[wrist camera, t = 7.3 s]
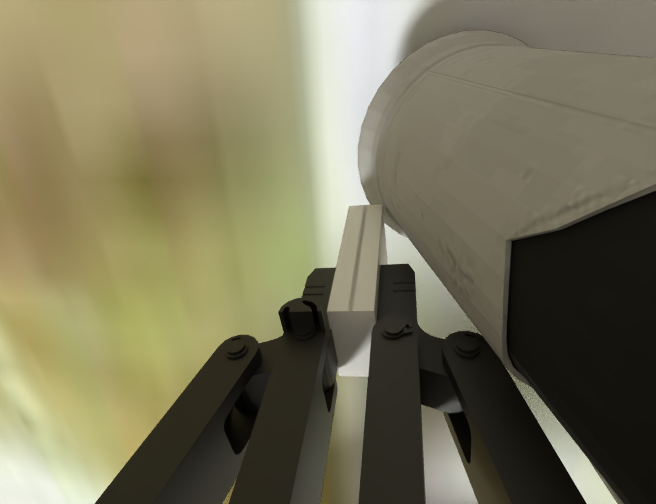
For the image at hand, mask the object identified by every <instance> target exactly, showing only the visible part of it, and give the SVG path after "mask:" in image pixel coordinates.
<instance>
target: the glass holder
mask: <svg viewBox="0 0 656 504" xmlns="http://www.w3.org/2000/svg"><path fill="white" fill-rule="evenodd" d="M358 168H359V174H360V180H361V184H362V187H363V190H364V192H365V195H366V198H367V200H368V201H369V203H370V205H375V204H382V206H383V217H384V222H385V223H386V224H387V225H388V226H389V227H391V228H392V229H393V230H395V231H396V232H398V233H399V234H401V235H403V236H405V237H407V238H409V240H410V241H411V242H412V243H413V245H414V246H415V247H416V249H417V250H418V251H419V253H420V254H421V255H422V257H423V258H424V259H425V261H426V262H427V263H428V265H429V266H430V267H431V269H432V270H433V271H434V273H435V274H436V275H437V276H438V278H439V279H440V280H441V282H442V283H443V284H444V286H445V287H446V288H447V290H448V291H449V292H450V294H451V295H452V296H453V298H454V299H455V300H456V302H457V303H458V304H459V306H460V307H461V308H462V309H463V311H464V312H465V313H466V315H467V316H468V317H469V319H470V320H471V321H472V323H473V324H474V325H475V327H476V328H477V329H478V331H479V332H480V333H481V335H482V336H483V337H484V339H485V340H486V341H487V342H488V344H489V345H490V346H491V348H492V349H493V350H494V352H495V353H496V354H497V356H498V357H499V358H500V360H501V361H502V362H503V364H504V365H505V366H506V368H507V369H508V370H509V371H510V372H511V373H512V374H513V375H514V376H515V377H516V378H517V379H518V380H520V381H522V382H524V383H525V384H527V385H529V386H531V387H532V388H533V389H534V390H535V392H536V393H537V394H538V395H539V397H540V398H541V399H542V400H543V402H544V403H545V404H546V406H547V407H548V408H549V409H550V411H551V412H552V413H553V414H554V416H555V417H556V418H557V420H558V421H559V422H560V423H561V425H562V426H563V427H564V428H565V430H566V431H567V432H568V433H569V435H570V436H571V437H572V439H573V440H574V441H575V442H576V444H577V445H578V446H579V447H580V449H581V450H582V451H583V453H584V454H585V455H586V456H587V458H588V459H589V460H590V462H591V464H592V466H593V467H594V469H595V470H596V472H597V473H598V475H599V476H600V478H601V479H602V481H603V482H604V484H605V485H606V487H607V488H608V490H609V491H610V493H611V494H612V496H613V497H614V499H615V500H616V502H617V503H618V504H656V58H649V57H637V56H625V55H612V54H600V53H588V52H575V51H563V50H551V49H539V48H530V47H529V46H527V45H526V44H525V43H523V42H522V41H520V40H518V39H515V38H513V37H511V36H508V35H506V34H503V33H498V32H492V31H487V30H472V31H462V32H458V33H453V34H449V35H445V36H443V37H441V38H438V39H436V40H434V41H431V42H429V43H427V44H425V45H424V46H422V47H421V48H419V49H418V50H416V51H415V52H413V53H412V54H410V55H409V56H407V57H406V58H405V59H404V60H403V61H402V62H401V63H400V64H399V65H398V66H397V67H396V68H395V69H394V70H393V71H392V72H391V73H390V74H389V76H388V77H387V78H386V79H385V81H384V82H383V83H382V85H381V86H380V87H379V89H378V90H377V92H376V94H375V96H374V98H373V100H372V102H371V103H370V105H369V107H368V110H367V113H366V116H365V118H364V121H363V124H362V127H361V133H360V138H359V144H358Z"/></svg>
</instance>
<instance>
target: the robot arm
mask: <svg viewBox="0 0 656 504" xmlns="http://www.w3.org/2000/svg"><path fill="white" fill-rule="evenodd" d="M278 313H279V316H280V320H281V324H282V327H283V331H284V333H283V336H281V337H279V338H277V339H274V340H271V341H267V342H263V343H259V344H258V341H257V340H256V339H255V338H254V337H252V336H249V335H238V336H234V337H231V338H229V339H227V340H225V341H224V342H223V343H222V344H221V345H220V346H219V347H218V348H217V349H216V351H215V352H214V353H213V354H212V356H211V357H210V358H209V359H208V361H207V362H206V363H205V365H204V366H203V367H202V368H201V370H200V371H199V372H198V373H197V375H196V376H195V377H194V378H193V380H192V381H191V382H190V384H189V385H188V386H187V387H186V389H185V390H184V391H183V392H182V394H181V395H180V396H179V397H178V399H177V400H176V401H175V403H174V404H173V405H172V406H171V408H170V409H169V410H168V411H167V413H166V414H165V415H164V416H163V418H162V419H161V420H160V422H159V423H158V424H157V425H156V427H155V428H154V429H153V430H152V432H151V433H150V434H149V435H148V437H147V438H146V439H145V441H144V442H143V443H142V444H141V446H140V447H139V448H138V449H137V451H136V452H135V453H134V454H133V456H132V457H131V458H130V460H129V461H128V462H127V463H126V465H125V466H124V467H123V468H122V470H121V471H120V472H119V473H118V475H117V476H116V477H115V479H114V480H113V481H112V482H111V484H110V485H109V486H108V487H107V489H106V490H105V491H104V492H103V494H102V495H101V496H100V498H99V499H98V500H97V501H96V503H95V504H222V503H223V502H224V500H225V498H226V496H227V494H228V493H229V491H230V489H231V487H232V486H233V484H234V482H235V480H236V479H237V480H236V483H235V486H234V489H233V492H232V496H231V499H230V502H229V504H320V501H321V494H322V488H323V481H324V475H325V468H326V462H327V455H328V449H329V442H330V436H331V429H332V423H333V416H334V410H335V403H336V397H337V382H336V372H337V367H338V372H339V376H368V386H367V400H366V413H365V426H364V439H363V453H362V466H361V479H360V493H359V504H426V501H425V480H424V459H423V438H422V417H421V404H422V405H425V406H428V407H431V408H435V409H438V410H441V411H443V412H444V416H445V419H446V421H447V424H448V427H449V429H450V432H451V434H452V437H453V439H454V442H455V445H456V447H457V450H458V452H459V455H460V457H461V460H462V462H463V465H464V468H465V470H466V473H467V475H468V478H469V480H470V483H471V486H472V488H473V491H474V493H475V496H476V498H477V501H478V503H479V504H586V502H585V500H584V499H583V497H582V495H581V494H580V492H579V490H578V489H577V487H576V485H575V484H574V482H573V480H572V478H571V477H570V475H569V473H568V472H567V470H566V468H565V467H564V465H563V463H562V462H561V460H560V458H559V457H558V455H557V453H556V452H555V450H554V448H553V447H552V445H551V443H550V442H549V440H548V438H547V437H546V435H545V433H544V432H543V430H542V428H541V427H540V425H539V423H538V421H537V420H536V418H535V416H534V415H533V413H532V411H531V410H530V408H529V406H528V405H527V403H526V401H525V400H524V398H523V396H522V395H521V393H520V391H519V390H518V388H517V386H516V385H515V383H514V381H513V380H512V378H511V376H510V375H509V373H508V371H507V370H506V368H505V366H504V365H503V363H502V361H501V360H500V358H499V357H498V356H497V354H496V353H495V352H494V350H493V349H492V348H491V346H490V345H489V344H488V342H487V341H486V340H485V339H484V337H483V336H482V335H480V334H478V333H474V332H470V331H458V332H456V333H453V334H450V335H449V336H448V337H447V338H445V339H441V338H437V337H434V336H431V335H429V334H427V333H425V332H424V331H423V330H422V329H421V328H420V327H419V325H418V323H417V307H416V287H415V272H414V271H413V269H412V268H411V267H410V265H409V264H392V265H387V250H386V239H385V228H384V217H383V206H382V204H375V205H360V206H349V209H348V214H347V219H346V223H345V228H344V233H343V238H342V242H341V247H340V252H339V256H338V261H337V266H336V268H317V269H315V270H314V271H313V272H312V273H311V274H310V275H309V276H308V278H307V281H306V285H305V288H304V291H303V296H302V298H297V299H294V300H291V301H289V302H287V303H286V304H284V305H283V306H282V307H281V309H280V310H279V312H278Z"/></svg>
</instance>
